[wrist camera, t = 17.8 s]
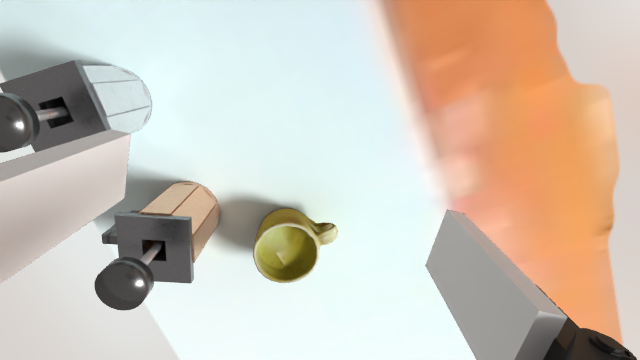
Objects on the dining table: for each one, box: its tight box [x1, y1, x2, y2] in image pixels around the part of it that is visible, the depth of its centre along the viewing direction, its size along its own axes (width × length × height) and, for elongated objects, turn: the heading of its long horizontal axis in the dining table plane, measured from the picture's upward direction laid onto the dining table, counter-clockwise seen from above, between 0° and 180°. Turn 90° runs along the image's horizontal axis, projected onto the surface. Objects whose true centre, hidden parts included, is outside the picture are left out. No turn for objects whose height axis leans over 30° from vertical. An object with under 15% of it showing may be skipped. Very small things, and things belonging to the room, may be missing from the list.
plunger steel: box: [0, 93, 71, 152], centre depth 40 cm, size 6×6×18 cm
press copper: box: [102, 182, 220, 283], centre depth 50 cm, size 12×9×13 cm
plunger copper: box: [95, 240, 165, 310], centre depth 45 cm, size 6×6×18 cm
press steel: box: [0, 61, 152, 152], centre depth 45 cm, size 12×9×13 cm
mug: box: [253, 208, 338, 283], centre depth 54 cm, size 12×10×10 cm
